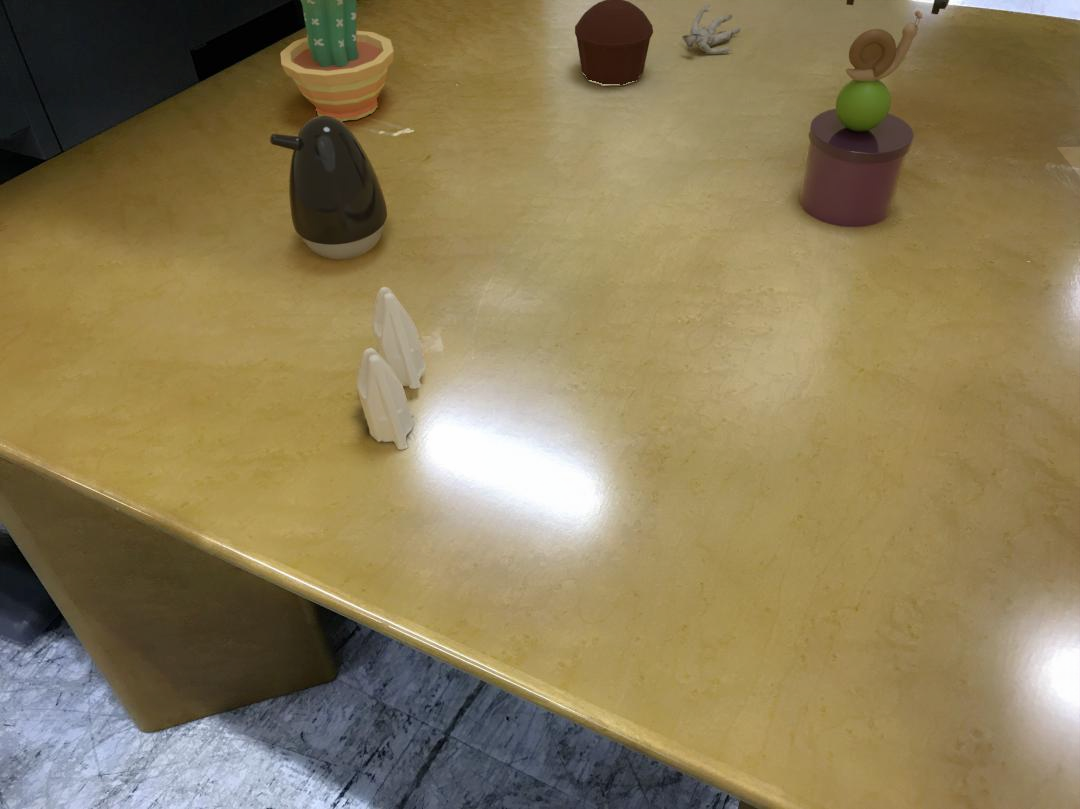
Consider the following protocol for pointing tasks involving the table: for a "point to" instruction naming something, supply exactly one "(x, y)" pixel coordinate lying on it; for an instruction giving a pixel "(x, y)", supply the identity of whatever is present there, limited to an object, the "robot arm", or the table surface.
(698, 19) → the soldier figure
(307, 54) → the potted cactus
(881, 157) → the jar
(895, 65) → the snail figurine
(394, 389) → the shaker set
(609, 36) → the muffin
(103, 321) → the table surface
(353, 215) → the pump dispenser
